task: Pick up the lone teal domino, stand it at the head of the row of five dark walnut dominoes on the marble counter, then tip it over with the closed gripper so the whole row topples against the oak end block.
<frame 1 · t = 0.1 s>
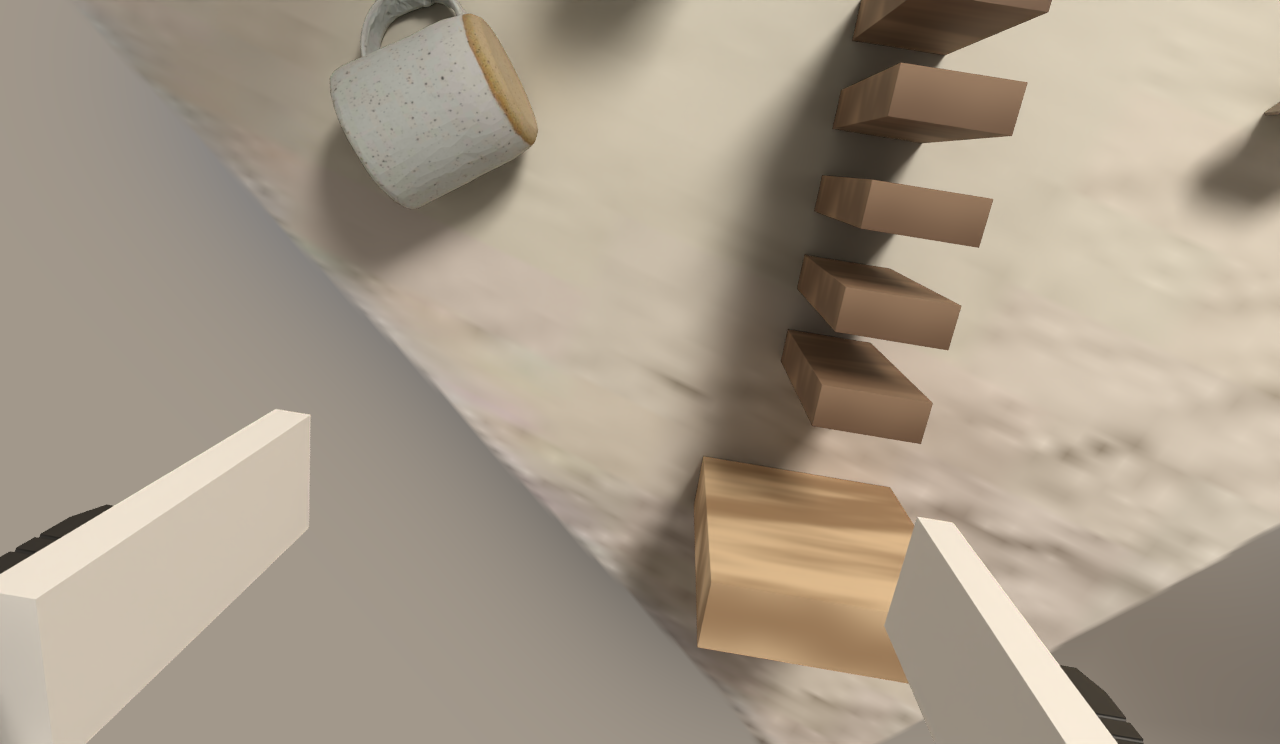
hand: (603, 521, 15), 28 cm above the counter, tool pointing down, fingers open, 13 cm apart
domino 5: (825, 351, 42), on the counter
end block: (790, 496, 45), on the counter
domino 3: (861, 200, 39), on the counter
domino 4: (843, 278, 41), on the counter
domino 2: (882, 116, 38), on the counter
domino 1: (903, 27, 37), on the counter
ceramic mug: (448, 95, 40), on the counter
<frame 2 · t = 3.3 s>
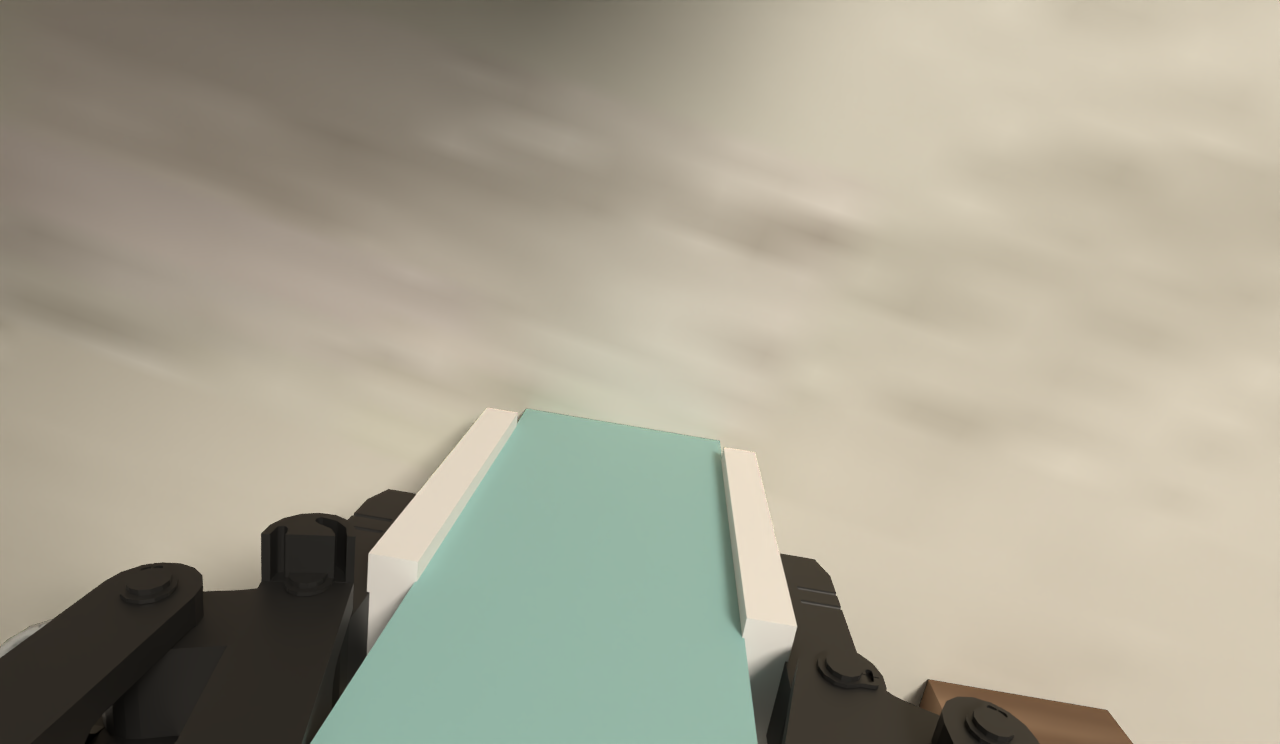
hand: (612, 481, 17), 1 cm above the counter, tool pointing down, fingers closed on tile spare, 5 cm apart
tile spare: (617, 460, 18), on the counter, touching gripper
domino 1: (1006, 723, 20), on the counter
ceramic mug: (173, 738, 22), on the counter
when the fingers open (2 cm above the counter, at t = 7.8 s): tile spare stays where it is, on the counter.
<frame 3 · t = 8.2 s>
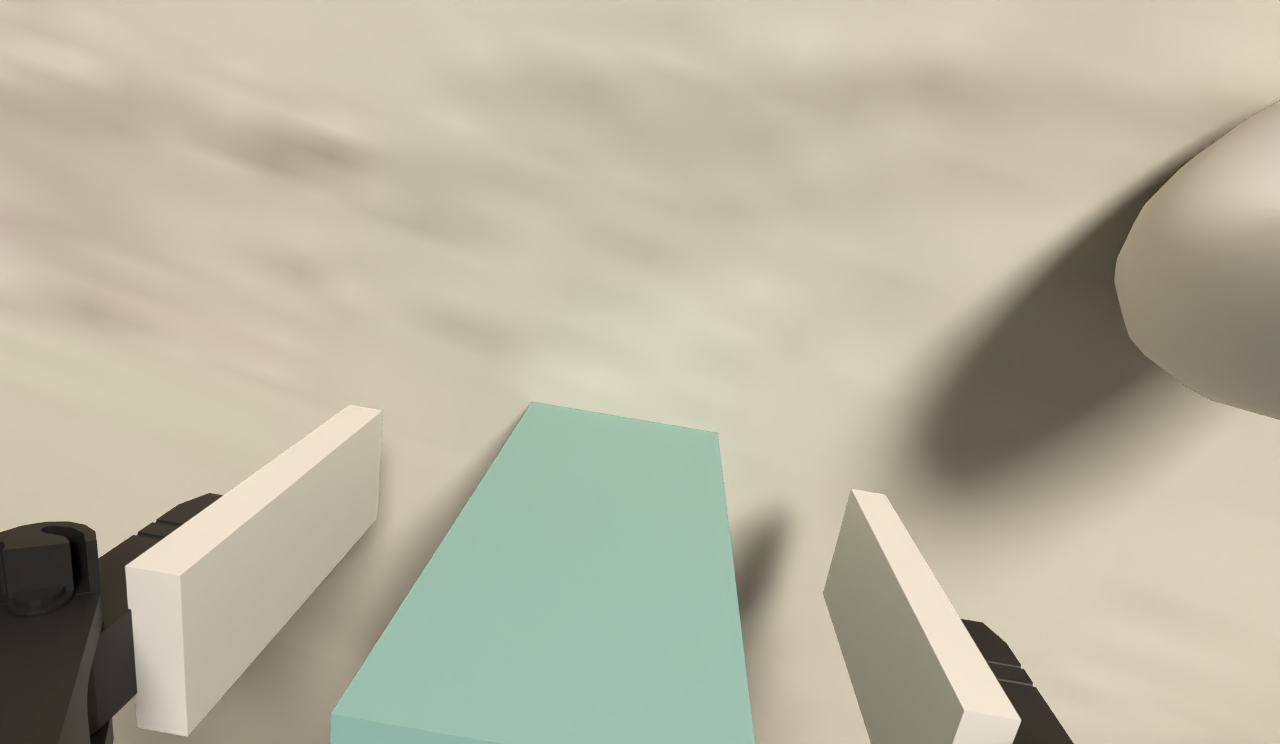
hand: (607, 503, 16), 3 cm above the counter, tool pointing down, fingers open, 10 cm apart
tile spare: (619, 451, 19), on the counter
donut: (1229, 184, 16), on the counter
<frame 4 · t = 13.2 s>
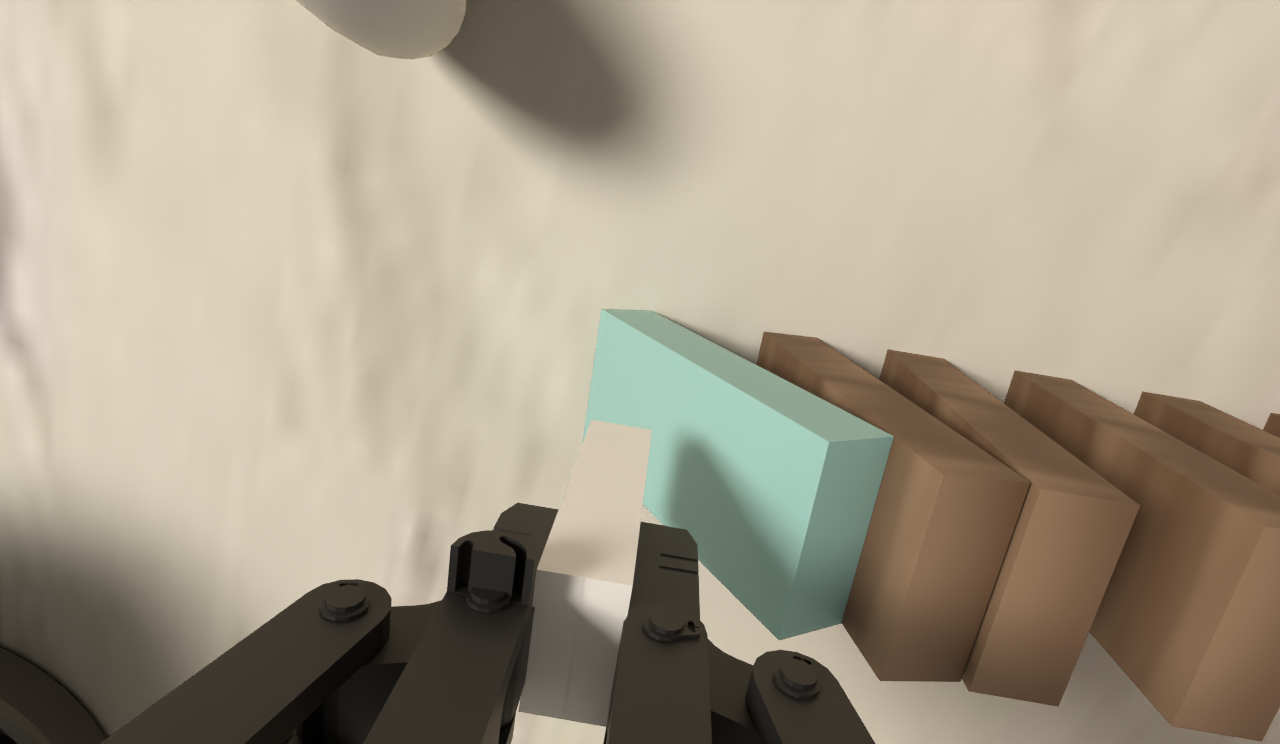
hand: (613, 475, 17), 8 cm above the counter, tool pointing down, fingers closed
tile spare: (616, 378, 25), point 1 cm above the counter, tilted 33°
domino 3: (1020, 440, 25), on the counter
domino 4: (1145, 461, 25), on the counter
domino 2: (897, 420, 25), on the counter
domino 1: (775, 401, 25), on the counter, tilted 13°
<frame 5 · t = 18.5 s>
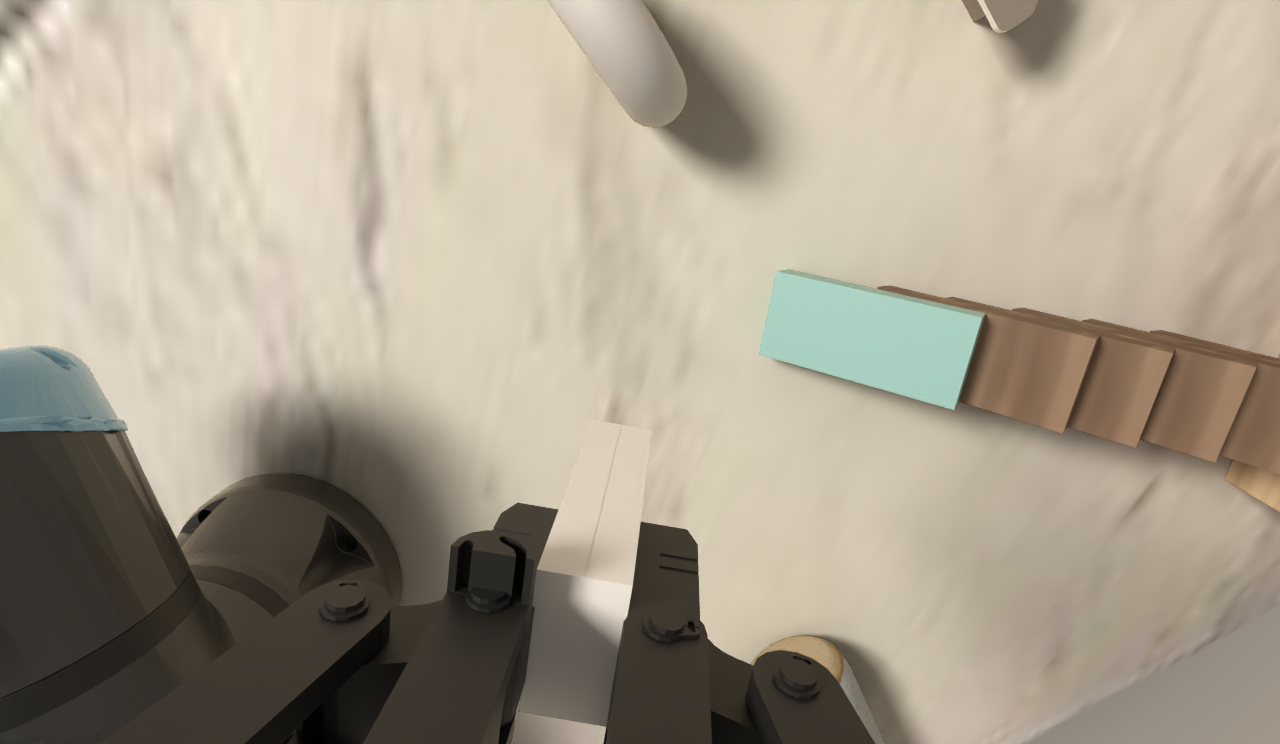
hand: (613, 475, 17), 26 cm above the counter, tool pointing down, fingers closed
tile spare: (773, 311, 42), point 1 cm above the counter, tilted 63°, touching domino 1
domino 5: (1141, 371, 41), point 1 cm above the counter, tilted 40°, touching domino 4, end block
domino 3: (1004, 349, 41), point 1 cm above the counter, tilted 51°, touching domino 2, domino 4
domino 4: (1073, 360, 41), point 1 cm above the counter, tilted 46°, touching domino 3, domino 5
donut: (622, 49, 39), on the counter
domino 2: (935, 338, 41), point 1 cm above the counter, tilted 54°, touching domino 1, domino 3
domino 1: (873, 327, 42), point 1 cm above the counter, tilted 55°, touching domino 2, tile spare
ceramic mug: (785, 682, 50), on the counter
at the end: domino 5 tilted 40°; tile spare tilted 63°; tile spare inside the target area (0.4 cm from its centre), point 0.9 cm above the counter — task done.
